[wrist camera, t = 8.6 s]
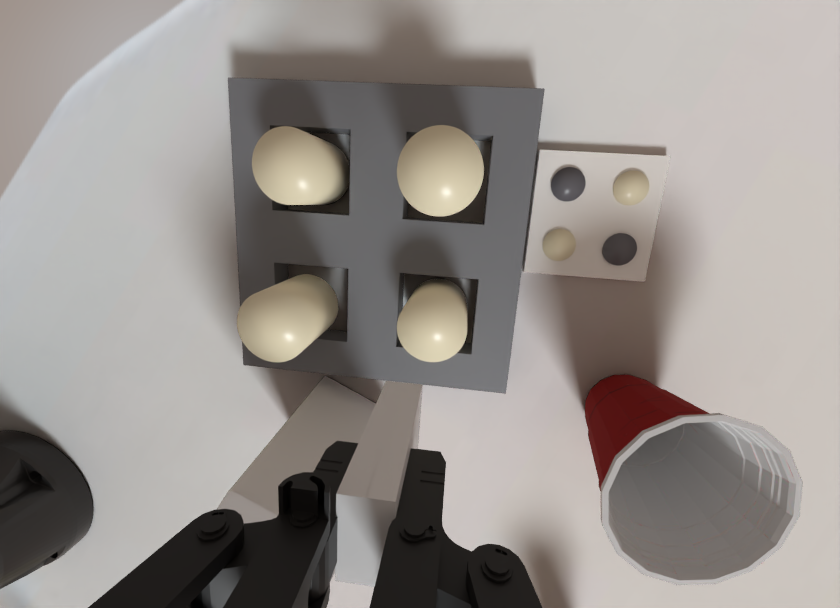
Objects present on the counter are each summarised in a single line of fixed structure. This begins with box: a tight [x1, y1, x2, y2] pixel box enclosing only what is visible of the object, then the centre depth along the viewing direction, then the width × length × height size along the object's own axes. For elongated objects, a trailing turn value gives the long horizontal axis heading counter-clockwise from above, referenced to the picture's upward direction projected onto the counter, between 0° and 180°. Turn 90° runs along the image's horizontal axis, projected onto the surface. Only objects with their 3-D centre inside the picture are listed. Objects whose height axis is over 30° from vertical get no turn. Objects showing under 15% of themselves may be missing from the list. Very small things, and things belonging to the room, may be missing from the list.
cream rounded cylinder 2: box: [237, 274, 338, 362], centre depth 28 cm, size 5×5×6 cm
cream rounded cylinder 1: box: [252, 126, 350, 205], centre depth 28 cm, size 5×5×6 cm
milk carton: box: [217, 376, 376, 581], centre depth 28 cm, size 7×7×19 cm
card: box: [523, 150, 671, 282], centre depth 30 cm, size 9×9×1 cm
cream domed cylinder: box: [397, 125, 484, 216], centre depth 25 cm, size 5×5×6 cm
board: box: [228, 78, 544, 394], centre depth 31 cm, size 22×22×2 cm
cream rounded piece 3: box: [397, 279, 467, 362], centre depth 30 cm, size 5×5×6 cm
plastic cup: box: [585, 375, 803, 585], centre depth 28 cm, size 11×11×12 cm
